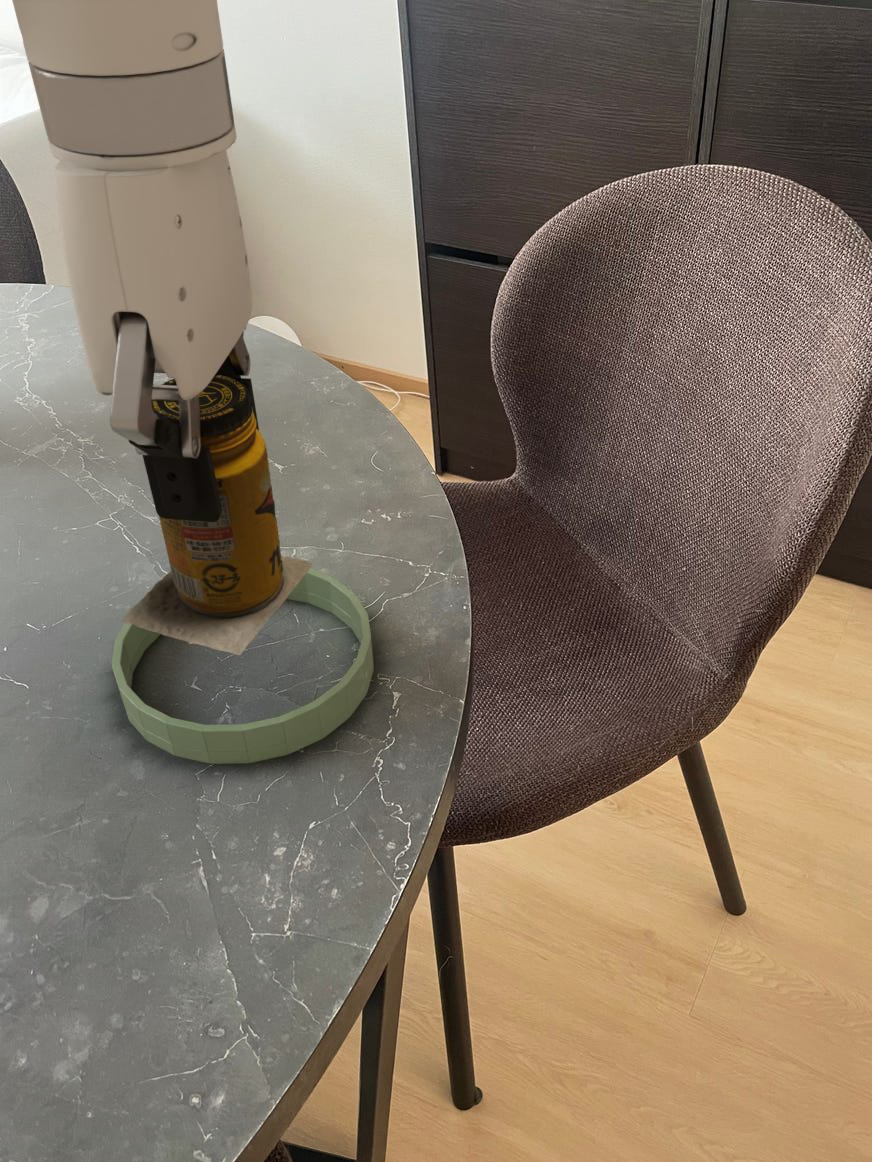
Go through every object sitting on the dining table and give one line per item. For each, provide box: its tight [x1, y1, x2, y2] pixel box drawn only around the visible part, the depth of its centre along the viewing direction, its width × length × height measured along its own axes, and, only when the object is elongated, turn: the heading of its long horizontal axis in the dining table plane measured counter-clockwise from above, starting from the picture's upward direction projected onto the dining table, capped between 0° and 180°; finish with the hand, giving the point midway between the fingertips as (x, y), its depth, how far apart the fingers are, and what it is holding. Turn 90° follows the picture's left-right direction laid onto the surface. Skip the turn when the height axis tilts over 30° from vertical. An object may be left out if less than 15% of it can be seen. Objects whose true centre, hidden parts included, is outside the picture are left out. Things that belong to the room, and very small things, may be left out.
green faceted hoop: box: [111, 567, 375, 765], centre depth 63 cm, size 15×15×4 cm
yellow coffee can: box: [120, 375, 314, 656], centre depth 54 cm, size 7×8×12 cm
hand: (211, 477), depth 54 cm, fingers closed on yellow coffee can, 6 cm apart
